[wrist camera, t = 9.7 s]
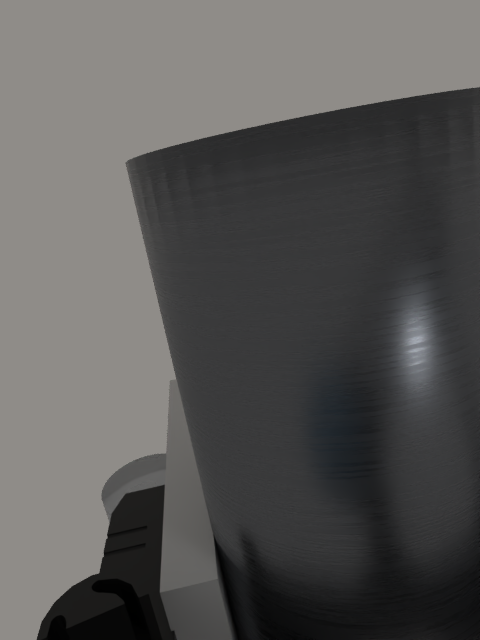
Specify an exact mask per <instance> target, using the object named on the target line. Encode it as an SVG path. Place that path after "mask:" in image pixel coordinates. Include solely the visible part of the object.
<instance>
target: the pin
mask: <svg viewBox="0 0 480 640" xmlns="http://www.w3.org/2000/svg"><path fill="white" fill-rule="evenodd" d="M126 167H127V171H128V175H129V179H130V183H131V188H132V192H133V197H134V201H135V205H136V209H137V213H138V218H139V222H140V226H141V231H142V234H143V239H144V243H145V247H146V252H147V256H148V260H149V265H150V269H151V273H152V277H153V282H154V286H155V290H156V294H157V298H158V303H159V307H160V311H161V315H162V319H163V324H164V328H165V333H166V336H167V341H168V345H169V350H170V354H171V358H172V362H173V366H174V371H175V375H176V379H177V384H178V388H179V392H180V396H181V401H182V405H183V409H184V413H185V418H186V422H187V426H188V430H189V435H190V439H191V443H192V447H193V452H194V456H195V460H196V464H197V469H198V473H199V477H200V481H201V486H202V490H203V494H204V498H205V503H206V507H207V511H208V515H209V520H210V524H211V528H212V531H213V534H214V538H215V543H216V547H217V551H218V555H219V560H220V564H221V568H222V572H223V577H224V581H225V585H226V589H227V594H228V598H229V602H230V606H231V611H232V615H233V619H234V623H235V628H236V632H237V636H238V640H480V87H479V88H471V89H463V90H455V91H447V92H441V93H434V94H427V95H422V96H415V97H409V98H403V99H397V100H391V101H385V102H379V103H374V104H368V105H362V106H357V107H351V108H346V109H340V110H335V111H330V112H325V113H320V114H315V115H309V116H304V117H300V118H294V119H289V120H285V121H280V122H275V123H270V124H265V125H261V126H257V127H251V128H247V129H242V130H238V131H233V132H229V133H225V134H220V135H216V136H212V137H207V138H203V139H199V140H195V141H191V142H187V143H183V144H179V145H175V146H171V147H168V148H164V149H160V150H157V151H153V152H150V153H147V154H144V155H141V156H138V157H135V158H133V159H130V160H128V161H127V162H126Z"/></svg>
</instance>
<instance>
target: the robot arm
mask: <svg viewBox="0 0 480 640" xmlns="http://www.w3.org/2000/svg"><path fill="white" fill-rule="evenodd" d="M107 536H108V539H106V543H105V548H104V557H103V558H102V563H101V568H100V573H99V574H96V575H92V576H90V577H88V578H87V579H85V580H83V581H81V582H79V583H77V584H76V585H74V586H72V587H71V588H70V589H69V590H68V591H67V592H65V593H64V594H63V595H62V596H61V597H60V598H59V599H58V600H57V601H56V602H55V603H54V604H53V606H52V607H51V609H50V610H49V612H48V613H47V615H46V616H45V618H44V619H43V621H42V623H41V626H40V630H39V633H38V637H37V640H238V636H237V632H236V628H235V623H234V619H233V615H232V611H231V606H230V602H229V598H228V594H227V589H226V585H225V581H224V577H223V572H222V568H221V564H220V560H219V555H218V551H217V547H216V543H215V538H214V534H213V531H212V528H211V524H210V520H209V515H208V511H207V507H206V503H205V498H204V494H203V490H202V486H201V481H200V477H199V473H198V469H197V464H196V460H195V456H194V452H193V447H192V443H191V439H190V435H189V430H188V426H187V422H186V418H185V413H184V409H183V405H182V401H181V396H180V392H179V388H178V384H177V379H176V380H171V381H170V392H169V414H168V433H167V453H166V474H165V485H161V486H157V487H152V488H148V489H143V490H139V491H134V492H130V493H126V494H125V495H124V496H123V498H122V499H121V501H120V502H119V504H118V505H117V506H116V508H115V509H114V511H113V512H112V514H111V519H110V525H109V529H108V534H107Z"/></svg>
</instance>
